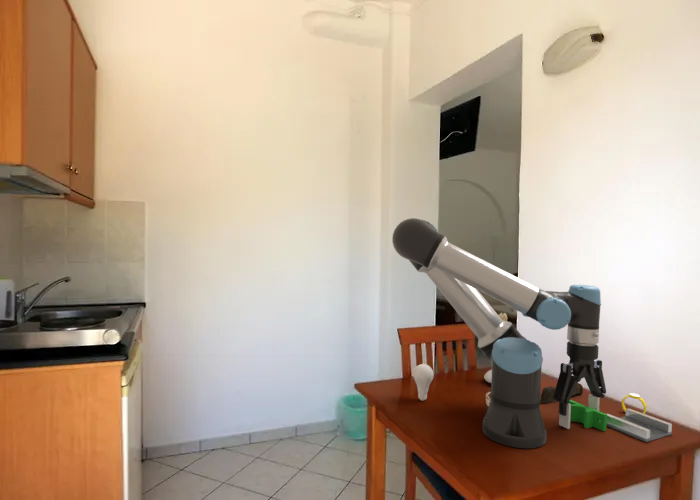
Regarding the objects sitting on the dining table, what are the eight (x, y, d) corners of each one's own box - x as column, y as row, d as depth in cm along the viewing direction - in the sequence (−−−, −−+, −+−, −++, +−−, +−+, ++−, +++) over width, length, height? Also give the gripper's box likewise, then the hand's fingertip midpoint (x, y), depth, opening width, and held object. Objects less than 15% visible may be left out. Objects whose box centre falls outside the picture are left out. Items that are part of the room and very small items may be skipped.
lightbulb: (411, 402, 130) (412, 366, 130) (413, 395, 136) (414, 360, 136) (432, 405, 129) (433, 368, 128) (433, 398, 135) (434, 362, 134)
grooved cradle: (645, 442, 109) (646, 431, 109) (603, 424, 119) (604, 414, 119) (671, 434, 114) (671, 423, 114) (628, 418, 124) (629, 408, 123)
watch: (646, 417, 125) (649, 397, 125) (643, 420, 123) (646, 399, 123) (622, 409, 129) (625, 390, 129) (619, 412, 128) (622, 392, 127)
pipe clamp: (559, 417, 123) (560, 401, 123) (569, 415, 125) (569, 399, 125) (597, 433, 113) (597, 416, 113) (606, 431, 115) (607, 413, 115)
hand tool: (571, 392, 144) (572, 378, 144) (583, 396, 141) (583, 381, 141) (533, 401, 135) (533, 386, 135) (544, 406, 132) (545, 390, 132)
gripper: (565, 350, 110) (561, 436, 110) (623, 342, 120) (619, 421, 121) (540, 343, 116) (537, 424, 117) (597, 336, 127) (594, 411, 127)
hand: (579, 423), depth 119 cm, fingers open, 11 cm apart
